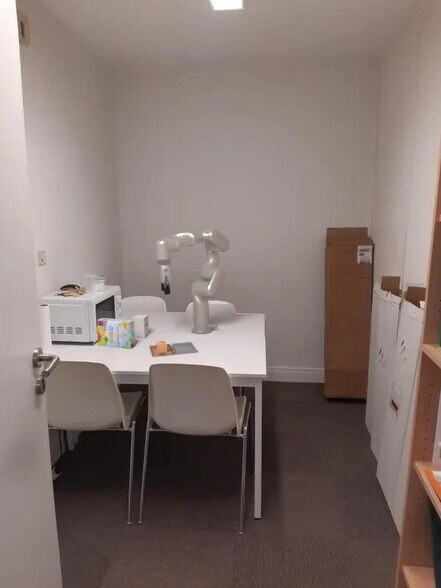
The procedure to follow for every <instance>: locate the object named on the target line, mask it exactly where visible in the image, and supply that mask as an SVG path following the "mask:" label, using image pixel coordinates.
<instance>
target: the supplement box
mask: <svg viewBox="0 0 441 588" xmlns="http://www.w3.org/2000/svg"><path fill="white" fill-rule="evenodd" d="M132 320H134V332H135V339H146V337H148V336H149V335H150V334H149V333H150V331H149V326H150V325H149V314H136V315H134V316H133V317H132Z"/></svg>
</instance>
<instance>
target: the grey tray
mask: <svg viewBox="0 0 441 588" xmlns="http://www.w3.org/2000/svg"><path fill="white" fill-rule="evenodd" d="M171 347H172V349H173V351H174V355H175V356H176V355H179V356H180V355H188V354H197V353H198V351H197V348H196V346H195V345H194V344H193V342H192V341H187V342H186V341H185V342H175V343H171Z"/></svg>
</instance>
